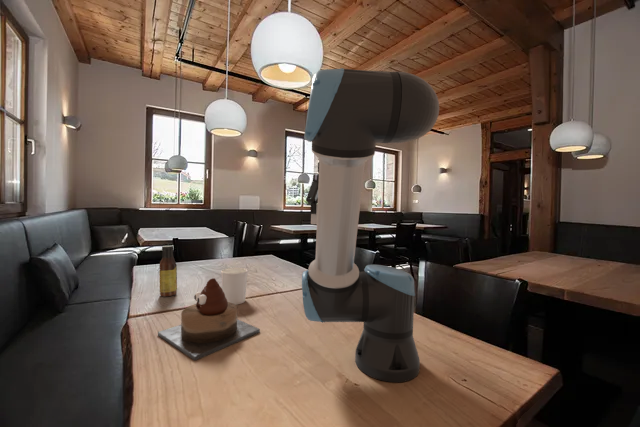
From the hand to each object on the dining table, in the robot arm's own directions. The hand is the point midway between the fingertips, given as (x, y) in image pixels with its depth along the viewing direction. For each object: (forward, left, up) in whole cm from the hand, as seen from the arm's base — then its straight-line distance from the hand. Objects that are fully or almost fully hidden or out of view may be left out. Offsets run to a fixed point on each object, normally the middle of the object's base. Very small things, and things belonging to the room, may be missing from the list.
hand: (327, 223), depth 98 cm
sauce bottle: (+60, +26, -32) cm, 73 cm away
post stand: (+16, +34, -32) cm, 49 cm away
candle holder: (+34, +13, -32) cm, 48 cm away
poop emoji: (+16, +34, -25) cm, 45 cm away
